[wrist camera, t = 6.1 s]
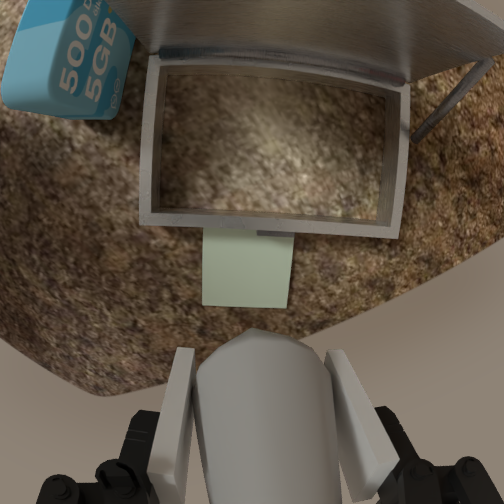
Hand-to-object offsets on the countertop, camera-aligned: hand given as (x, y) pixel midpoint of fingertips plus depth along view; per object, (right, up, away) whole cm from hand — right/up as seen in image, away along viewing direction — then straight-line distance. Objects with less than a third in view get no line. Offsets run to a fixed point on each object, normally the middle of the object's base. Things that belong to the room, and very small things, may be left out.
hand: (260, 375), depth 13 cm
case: (+2, +15, +12) cm, 19 cm away
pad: (-1, +4, +15) cm, 16 cm away
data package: (-14, +23, +9) cm, 28 cm away
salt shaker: (0, 0, +1) cm, 1 cm away
